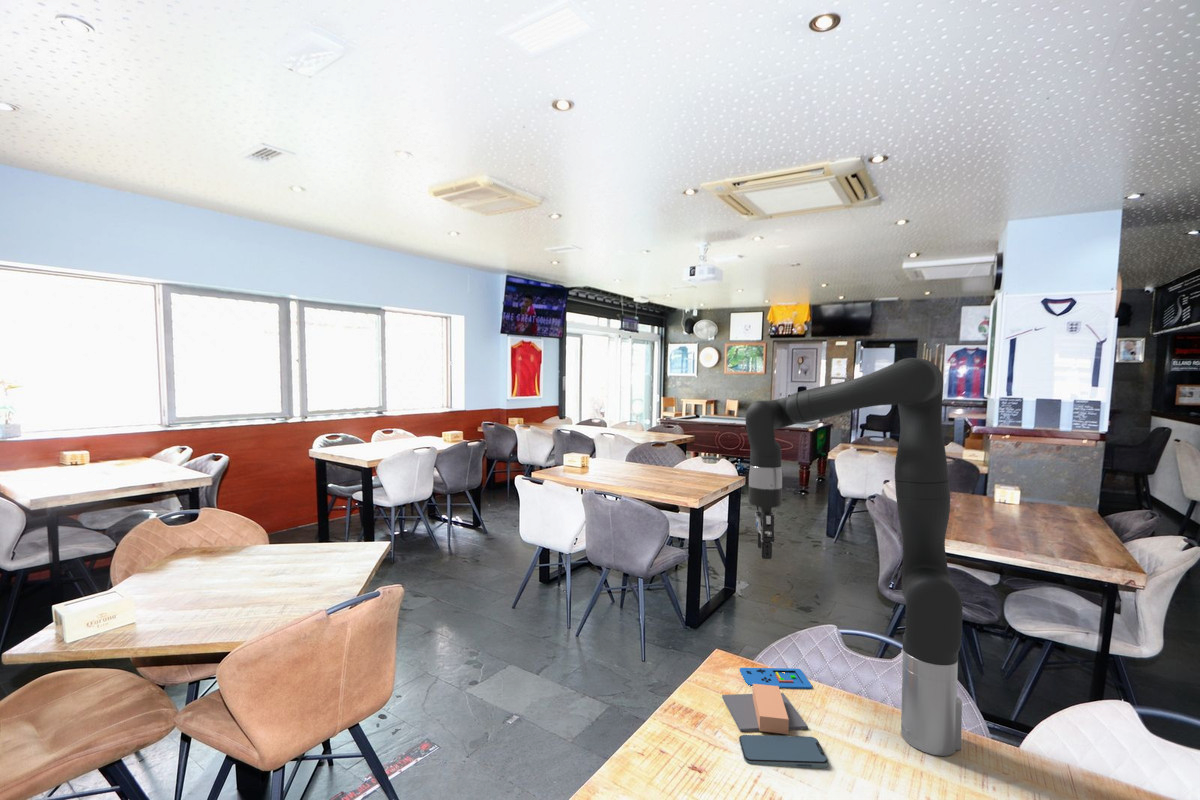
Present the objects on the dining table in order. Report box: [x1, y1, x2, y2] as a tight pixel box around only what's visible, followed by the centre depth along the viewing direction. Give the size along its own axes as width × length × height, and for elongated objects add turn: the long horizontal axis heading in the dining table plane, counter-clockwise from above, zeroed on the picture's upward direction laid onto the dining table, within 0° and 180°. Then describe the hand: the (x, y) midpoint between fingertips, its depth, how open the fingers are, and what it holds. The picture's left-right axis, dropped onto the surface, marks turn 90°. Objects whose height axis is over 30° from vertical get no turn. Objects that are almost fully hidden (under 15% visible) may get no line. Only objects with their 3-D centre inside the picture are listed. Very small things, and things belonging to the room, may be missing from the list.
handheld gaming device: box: [739, 667, 813, 690], centre depth 127 cm, size 8×1×15 cm
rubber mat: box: [721, 692, 809, 733], centre depth 113 cm, size 14×12×1 cm
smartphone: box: [738, 734, 829, 769], centre depth 101 cm, size 8×2×15 cm
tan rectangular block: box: [752, 684, 789, 735], centre depth 112 cm, size 6×3×12 cm
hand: (764, 553), depth 126 cm, fingers open, 8 cm apart
